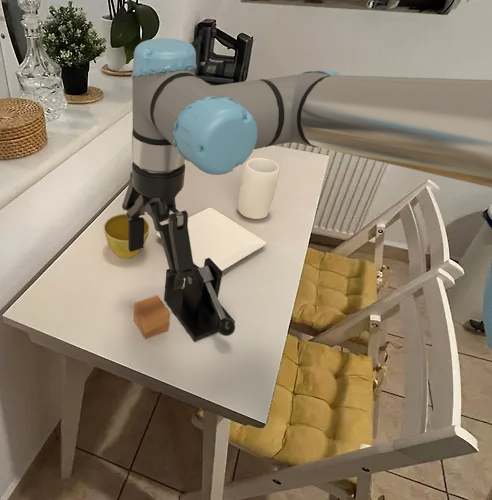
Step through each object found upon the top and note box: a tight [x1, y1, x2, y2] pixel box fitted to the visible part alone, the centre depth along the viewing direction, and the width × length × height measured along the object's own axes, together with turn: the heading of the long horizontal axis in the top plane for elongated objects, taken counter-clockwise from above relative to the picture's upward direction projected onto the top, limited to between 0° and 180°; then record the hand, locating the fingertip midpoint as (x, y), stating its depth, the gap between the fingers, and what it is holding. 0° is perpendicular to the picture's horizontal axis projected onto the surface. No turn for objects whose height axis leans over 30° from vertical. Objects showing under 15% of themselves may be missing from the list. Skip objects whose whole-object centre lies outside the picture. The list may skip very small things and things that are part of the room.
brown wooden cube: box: [133, 294, 171, 340], centre depth 81 cm, size 5×5×5 cm
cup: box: [237, 157, 281, 220], centre depth 107 cm, size 8×8×14 cm
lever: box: [196, 265, 236, 337], centre depth 78 cm, size 13×3×3 cm
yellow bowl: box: [103, 213, 150, 259], centre depth 97 cm, size 10×10×7 cm
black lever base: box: [165, 258, 236, 342], centre depth 82 cm, size 12×9×12 cm
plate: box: [155, 206, 268, 272], centre depth 101 cm, size 19×19×2 cm
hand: (153, 272), depth 74 cm, fingers open, 13 cm apart
